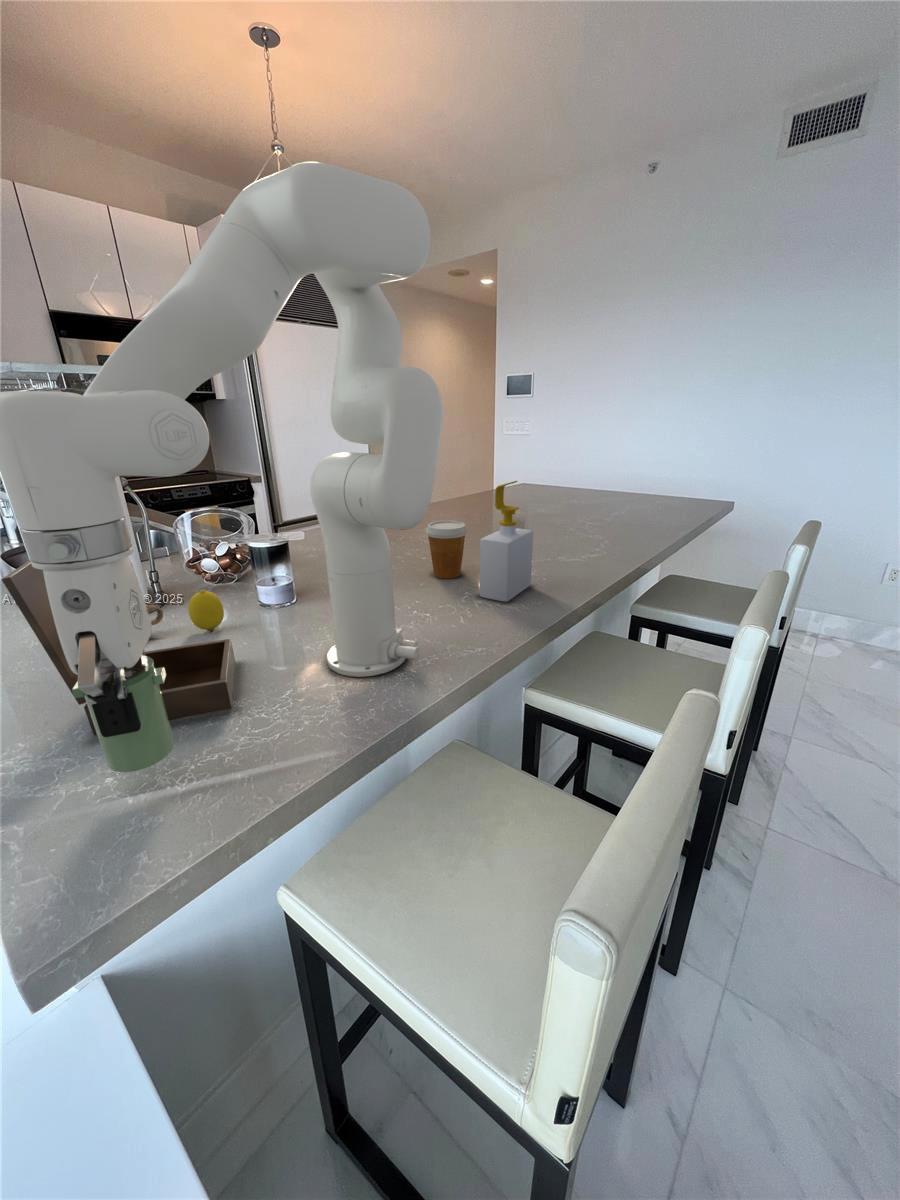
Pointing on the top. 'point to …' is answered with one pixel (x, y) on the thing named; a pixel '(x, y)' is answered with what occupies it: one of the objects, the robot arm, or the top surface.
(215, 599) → the lemon
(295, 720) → the top surface
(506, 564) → the soap bottle
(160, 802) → the top surface
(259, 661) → the top surface
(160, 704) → the green pot
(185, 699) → the chest
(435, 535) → the disposable coffee cup
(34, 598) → the chest lid
